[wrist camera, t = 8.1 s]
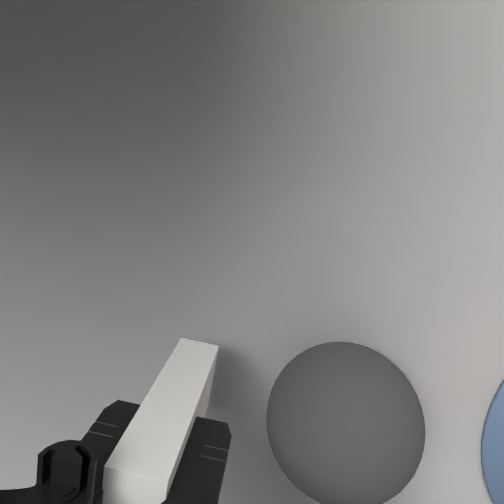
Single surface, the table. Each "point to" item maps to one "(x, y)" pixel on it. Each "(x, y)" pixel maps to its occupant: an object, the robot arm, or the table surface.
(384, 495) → the dark gray ball
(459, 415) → the table surface
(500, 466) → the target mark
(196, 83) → the table surface
